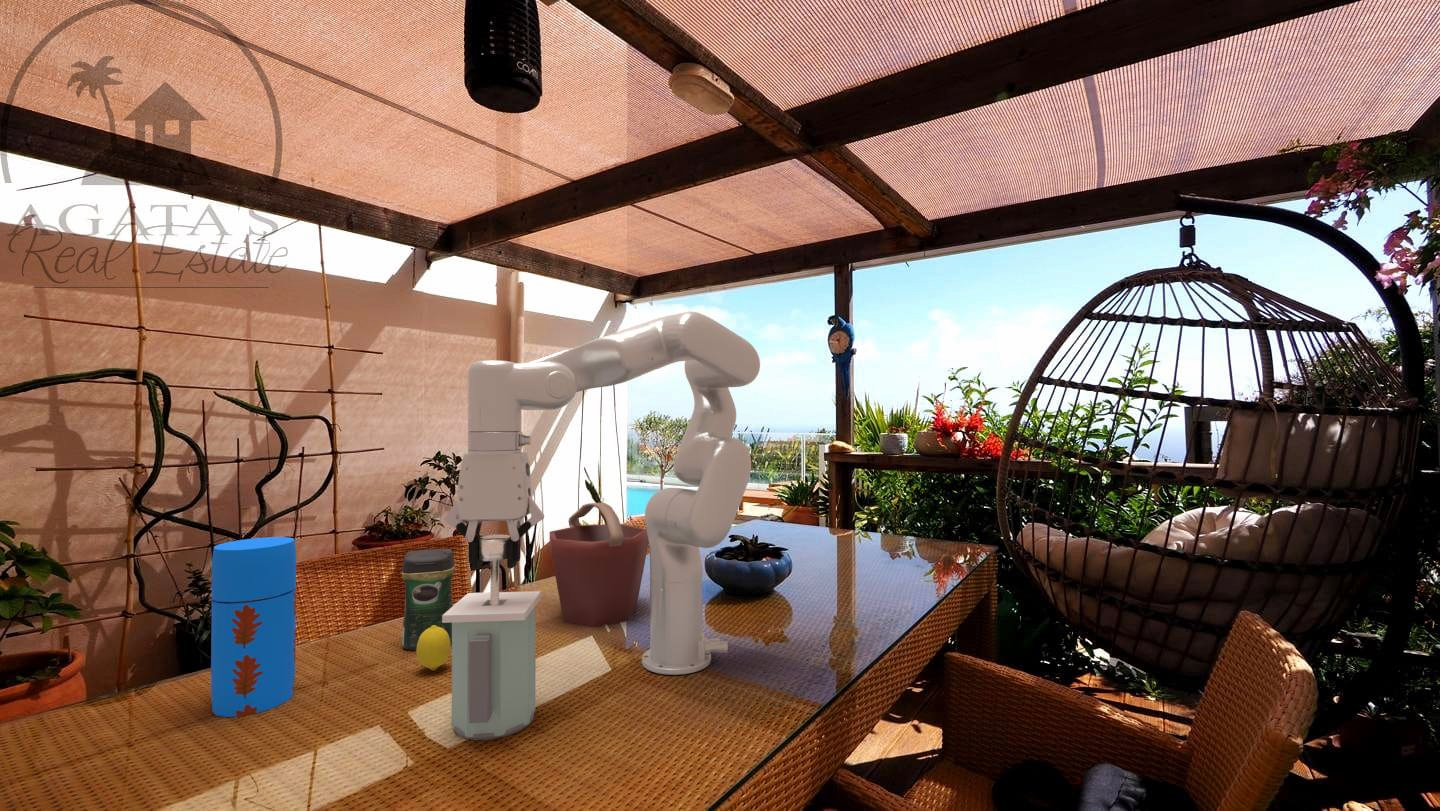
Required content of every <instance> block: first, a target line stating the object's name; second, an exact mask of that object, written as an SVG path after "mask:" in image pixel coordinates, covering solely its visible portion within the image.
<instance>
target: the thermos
mask: <svg viewBox="0 0 1440 811" xmlns="http://www.w3.org/2000/svg"><path fill="white" fill-rule="evenodd" d="M211 558H212V559H211V634H210V636H211V639H210V640H211V641H210V642H211V643H210V644H211V646H210V648H211V649H210V651H211V654H210V657H211V659H210V691H211V692H210V693H211V708H212V710H211V712H212V714H214V715H216V716H219V717H225V718H229V717H231V718H232V717H243V716H248V715H253V714H254V715H255V714H259V713H261V712H265V711H268V710H271V709H273V708H276V707H279V706H281V705H283V704H285V703H286V702H288V701H289V700H291V698H292V697H293V696H294V694H295V682H296V681H295V680H296V678H295V677H296V640H297V639H296V638H297V637H296V630H297V628H296V622H297V619H296V618H297V616H296V615H297V614H296V612H297V606H296V604H297V603H296V602H297V600H296V599H297V592H296V591H297V549H296V541H295V539H294V538H292V537H287V536H272V537H271V536H270V537H269V536H268V537H257V538H246V539H239V540H233V541H229V542H224V543H219V544H217V545H215V546H213V551H212V557H211Z"/></svg>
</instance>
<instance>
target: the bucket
mask: <svg viewBox="0 0 1440 811" xmlns="http://www.w3.org/2000/svg"><path fill="white" fill-rule="evenodd" d="M593 508H597V509H598V511H599V512H600V513H601V515H602V516H603V518H604V521H605V523H606V524H582V523H581V521H580V520H579V518H583V517H585V516H586V515H587V514H589V513H590V512H591V511H592V509H593ZM568 526H569V527H567V528H566V527H565V528H561V529H556V530H550V531H549V549H550V555H551V560H552V565H553V569H554V570H553V572H554V576H555V582H556V587H557V593H558V598H559V603H560V609H561V610H560V611H561V613H562V614H561V615H562V618H563V624H567V625H574V626H581V627H583V626H584V627H588V628H589V627H591V628H596V627H602V626H607V625H608V626H609V625H614V624H619V623H623V622H627V621H629V619H630V618H631V617H632V616H633V614H634V613H636V611H637V608H638V607H637V606H638V601H639V595H640V590H641V585H642V580H643V579H642V578H643V575H644V569H645V565H646V560H647V558H646V557H647V553H648V548H649V542H648V537H647V532H646V528H642V527H637V526H633V525H629V524H628V525H627V524H624V523H623V524H622V523H621V522H620V519H619V517H618V515H617V513H616V511H615V510H614V509H613V507H612V506H611V505H609V504H608V503H605V502H590V503H585V504H583V505H582V506H580V508H578V510H577V511H575V512H574V513H573V514H572V515H571V516H570V517H569V518H568Z"/></svg>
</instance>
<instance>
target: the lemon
mask: <svg viewBox="0 0 1440 811" xmlns="http://www.w3.org/2000/svg"><path fill="white" fill-rule="evenodd" d="M451 650H452V642H450V638H449V635H448V633H447V632H446V631H445V630H444V629H443V628H441V627H437V626H436V625H432V626H431V627H430V628H428V629H426V630H425V631H424V632H423V633H422V634H421V635H420V637H419V640H418V643H417V649H415V651H416V653H415V654H416V658H417V661H418V663H419V664H420V665H421V666H422V667H424V668H426V669H429V670H430V671H433V672H435V671H436V670H437V669H438V668H439V667H440V666H442V665H444V663H445V662H447V660H448V658H449V656H450V654H451Z"/></svg>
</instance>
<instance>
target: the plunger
mask: <svg viewBox="0 0 1440 811" xmlns="http://www.w3.org/2000/svg"><path fill="white" fill-rule="evenodd" d="M508 541H510V534H509V535H507V534H490V535H484V536H480V538H479V560H482V561H483V562H490V592H491V595H490V606H494V605H499V592H500V561H503V560H507V542H508Z"/></svg>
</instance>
